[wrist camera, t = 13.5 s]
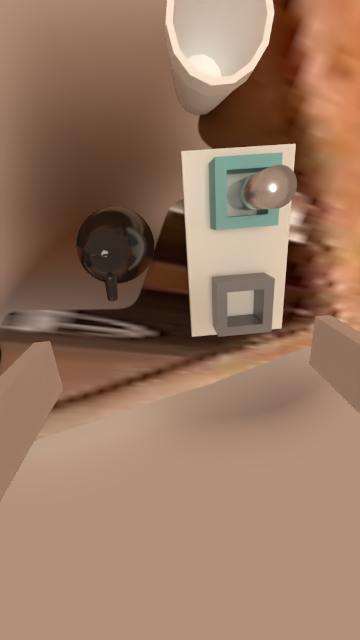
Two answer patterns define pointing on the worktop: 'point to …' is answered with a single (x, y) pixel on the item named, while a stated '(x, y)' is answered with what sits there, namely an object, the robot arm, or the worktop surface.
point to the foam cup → (214, 47)
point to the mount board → (232, 254)
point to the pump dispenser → (114, 246)
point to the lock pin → (263, 189)
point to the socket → (219, 190)
